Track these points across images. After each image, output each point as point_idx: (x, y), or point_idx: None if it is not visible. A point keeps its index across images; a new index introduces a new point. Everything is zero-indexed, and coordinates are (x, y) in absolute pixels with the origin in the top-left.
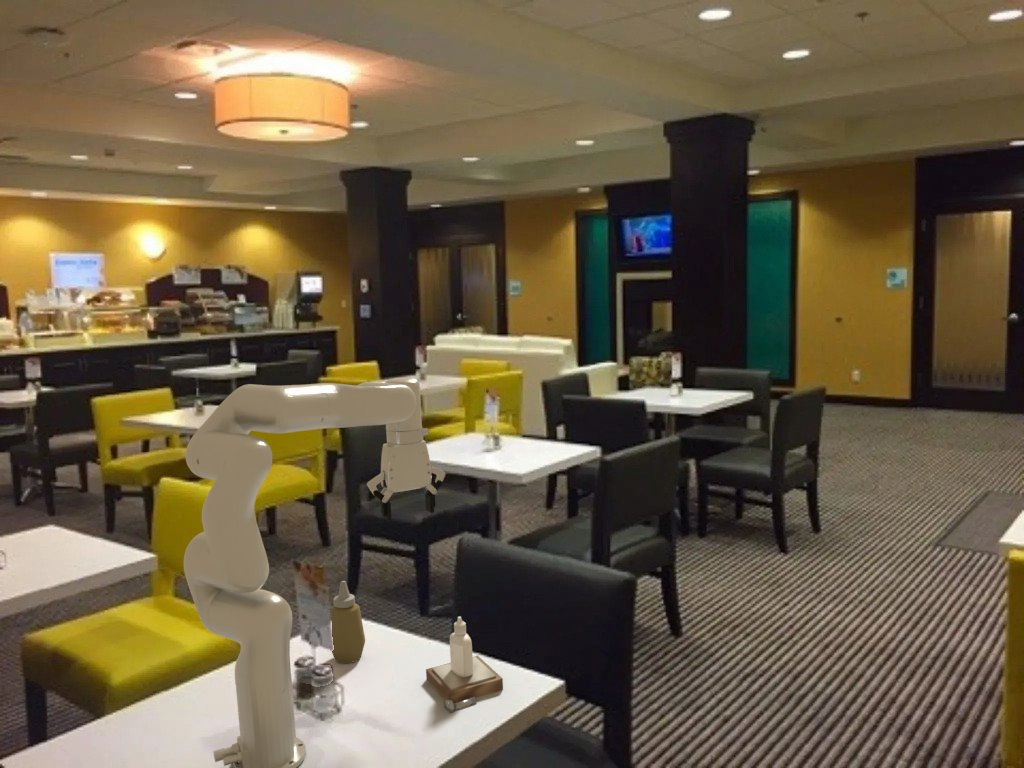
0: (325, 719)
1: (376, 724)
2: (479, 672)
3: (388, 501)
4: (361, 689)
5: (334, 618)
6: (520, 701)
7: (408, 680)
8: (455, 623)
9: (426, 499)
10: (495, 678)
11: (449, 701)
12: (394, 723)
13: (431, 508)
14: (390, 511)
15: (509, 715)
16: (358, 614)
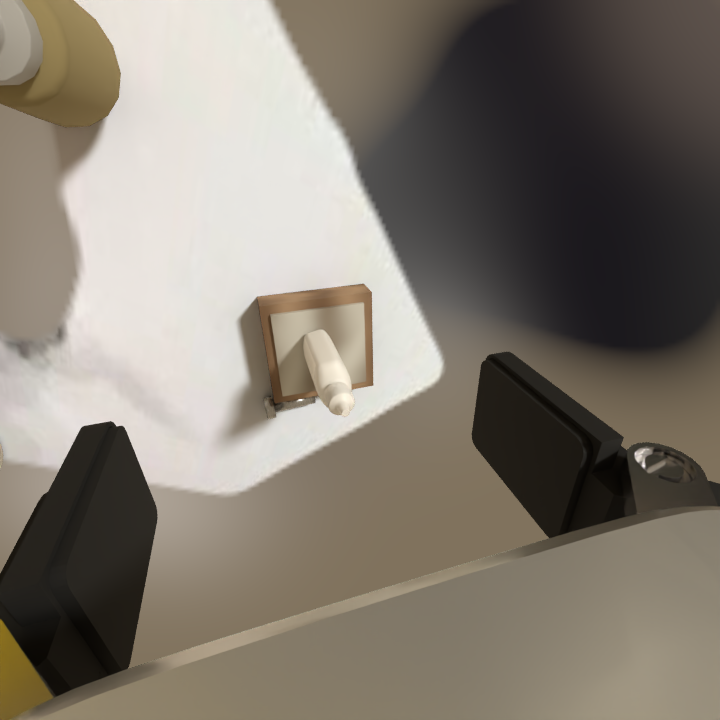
0: (30, 356)
1: (139, 400)
2: (346, 362)
3: (99, 672)
4: (112, 268)
5: None
6: (376, 403)
7: (223, 272)
8: (332, 405)
9: (535, 433)
10: (363, 382)
11: (270, 416)
12: (173, 405)
13: (492, 462)
14: (140, 579)
15: (346, 430)
16: (72, 88)
